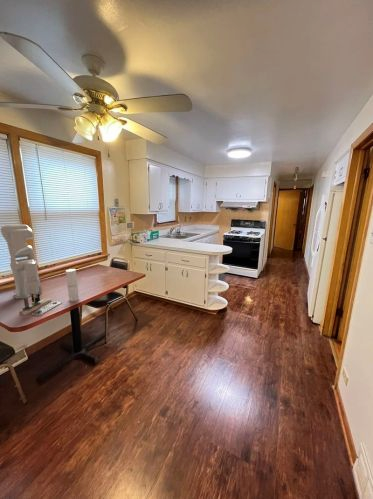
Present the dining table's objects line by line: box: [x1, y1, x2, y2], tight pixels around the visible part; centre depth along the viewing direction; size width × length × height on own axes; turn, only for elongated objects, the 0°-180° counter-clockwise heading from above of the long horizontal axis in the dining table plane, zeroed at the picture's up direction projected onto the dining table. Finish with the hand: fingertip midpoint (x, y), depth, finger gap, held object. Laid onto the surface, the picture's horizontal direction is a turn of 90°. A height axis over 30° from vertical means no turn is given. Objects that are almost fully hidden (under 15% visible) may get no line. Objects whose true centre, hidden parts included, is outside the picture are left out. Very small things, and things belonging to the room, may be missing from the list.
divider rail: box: [18, 297, 52, 316], centre depth 157 cm, size 5×22×10 cm, turn 169°
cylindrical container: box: [65, 268, 80, 302], centre depth 169 cm, size 7×7×25 cm
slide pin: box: [31, 294, 41, 305], centre depth 157 cm, size 5×3×9 cm, turn 79°
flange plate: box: [31, 300, 63, 317], centre depth 156 cm, size 7×20×1 cm, turn 169°
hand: (36, 301), depth 157 cm, fingers closed on slide pin, 2 cm apart
